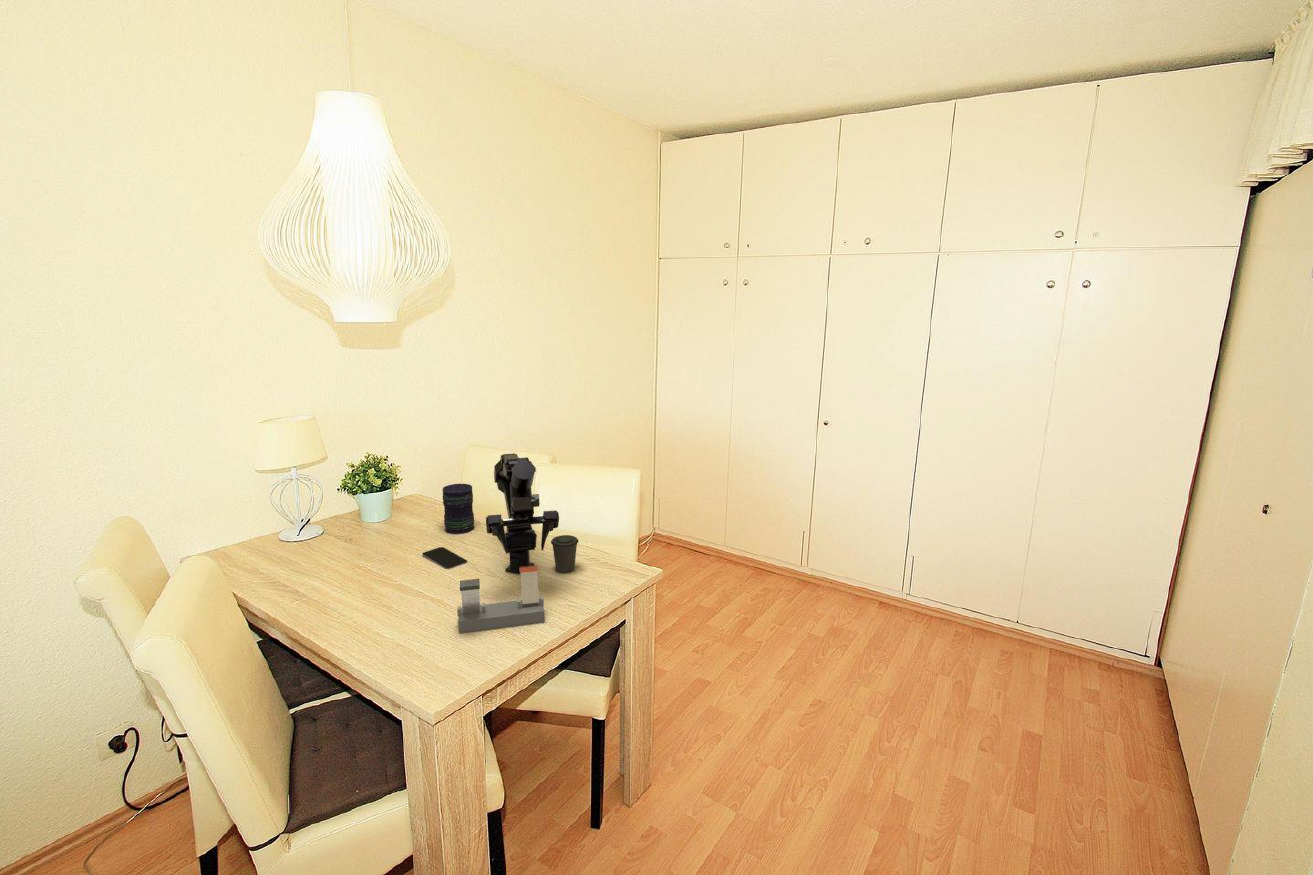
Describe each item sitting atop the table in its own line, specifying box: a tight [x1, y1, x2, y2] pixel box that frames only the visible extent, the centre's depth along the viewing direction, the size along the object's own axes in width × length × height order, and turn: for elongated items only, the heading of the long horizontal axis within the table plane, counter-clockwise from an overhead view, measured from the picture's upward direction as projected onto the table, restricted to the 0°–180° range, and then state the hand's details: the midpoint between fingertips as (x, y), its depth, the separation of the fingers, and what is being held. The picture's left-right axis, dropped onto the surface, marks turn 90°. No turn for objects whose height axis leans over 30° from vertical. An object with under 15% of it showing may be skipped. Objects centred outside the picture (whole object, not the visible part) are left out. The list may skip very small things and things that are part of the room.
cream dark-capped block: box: [459, 578, 481, 614], centre depth 139 cm, size 2×4×9 cm, turn 107°
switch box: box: [456, 595, 545, 634], centre depth 143 cm, size 7×20×5 cm, turn 107°
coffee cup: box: [550, 534, 579, 574], centre depth 171 cm, size 8×8×10 cm
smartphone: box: [421, 546, 468, 570], centre depth 178 cm, size 7×1×15 cm
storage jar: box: [442, 483, 475, 535], centre depth 200 cm, size 10×10×15 cm
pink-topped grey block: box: [519, 564, 540, 604], centre depth 145 cm, size 2×4×9 cm, turn 107°
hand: (524, 551), depth 150 cm, fingers open, 9 cm apart
